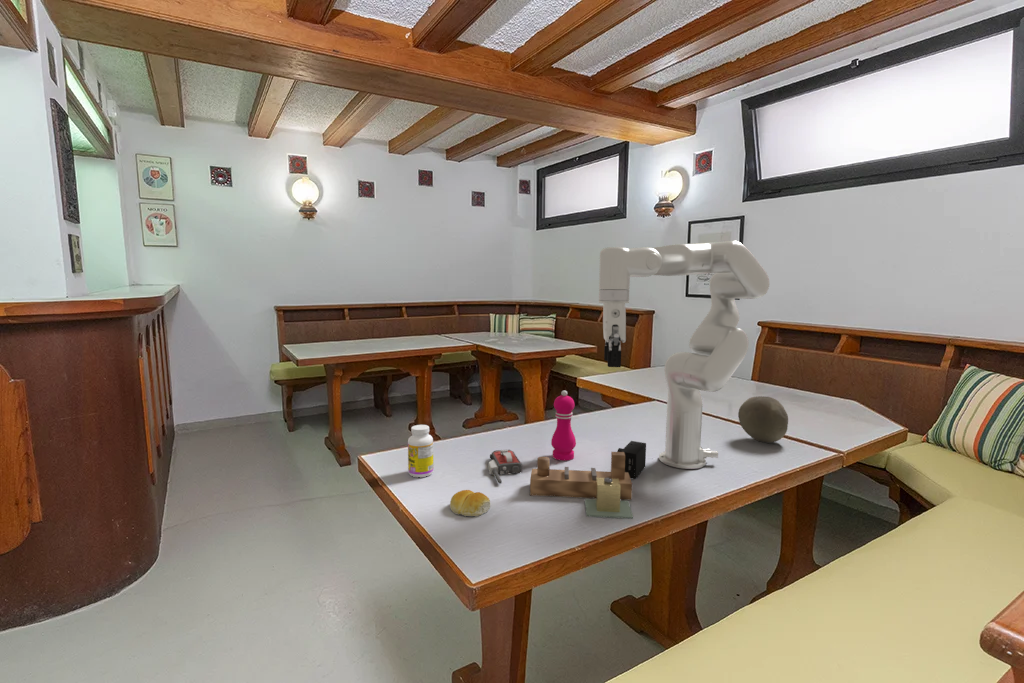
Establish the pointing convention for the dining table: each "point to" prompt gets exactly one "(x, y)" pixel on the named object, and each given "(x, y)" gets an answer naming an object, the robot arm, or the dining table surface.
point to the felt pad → (592, 512)
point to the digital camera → (634, 458)
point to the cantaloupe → (763, 419)
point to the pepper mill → (563, 428)
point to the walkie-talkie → (504, 463)
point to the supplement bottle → (420, 452)
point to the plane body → (577, 479)
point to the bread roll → (469, 503)
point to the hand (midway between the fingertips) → (612, 363)
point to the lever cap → (608, 494)
